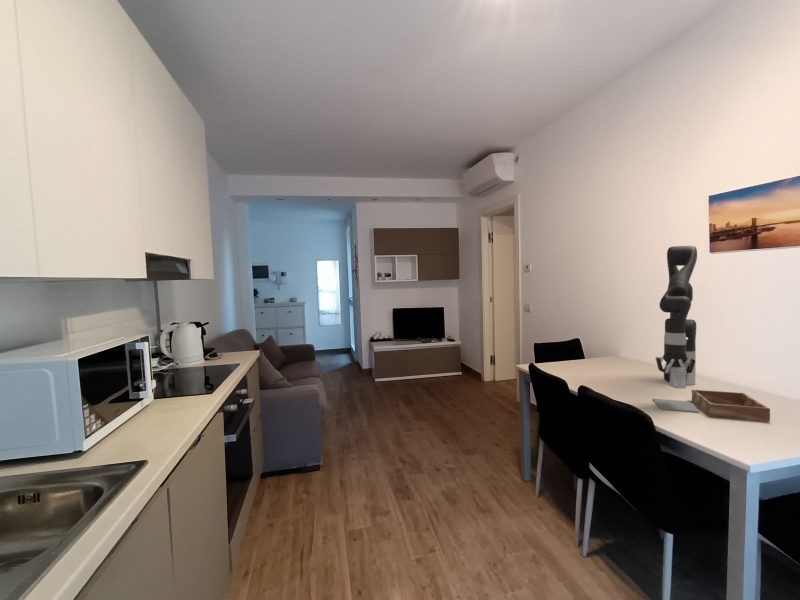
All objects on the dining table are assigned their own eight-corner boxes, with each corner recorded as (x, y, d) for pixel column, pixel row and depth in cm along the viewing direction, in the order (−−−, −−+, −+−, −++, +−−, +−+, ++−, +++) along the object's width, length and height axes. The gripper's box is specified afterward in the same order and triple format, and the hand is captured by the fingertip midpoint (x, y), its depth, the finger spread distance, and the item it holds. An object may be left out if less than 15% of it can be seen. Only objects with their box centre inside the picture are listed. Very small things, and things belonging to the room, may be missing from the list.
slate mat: (652, 399, 164) (652, 398, 164) (687, 402, 159) (687, 401, 159) (661, 409, 152) (661, 408, 152) (699, 412, 147) (699, 411, 147)
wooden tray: (691, 400, 162) (691, 389, 161) (743, 404, 155) (743, 392, 154) (710, 416, 143) (710, 404, 143) (769, 421, 136) (770, 408, 136)
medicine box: (686, 388, 151) (686, 368, 151) (674, 388, 152) (674, 368, 151) (675, 383, 159) (675, 364, 158) (664, 383, 160) (664, 364, 159)
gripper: (692, 341, 155) (692, 380, 156) (652, 340, 161) (652, 378, 161) (699, 344, 148) (698, 385, 149) (657, 343, 154) (657, 382, 155)
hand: (674, 381), depth 155 cm, fingers closed on medicine box, 5 cm apart
